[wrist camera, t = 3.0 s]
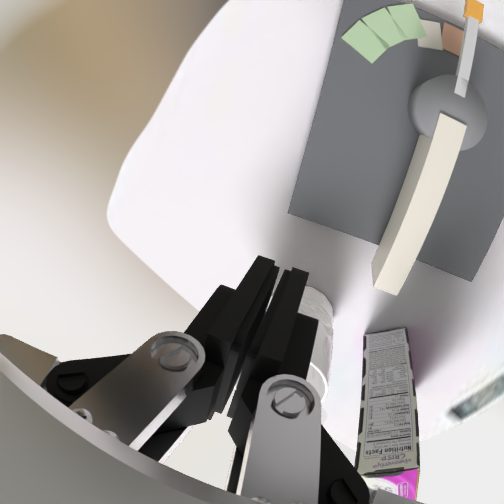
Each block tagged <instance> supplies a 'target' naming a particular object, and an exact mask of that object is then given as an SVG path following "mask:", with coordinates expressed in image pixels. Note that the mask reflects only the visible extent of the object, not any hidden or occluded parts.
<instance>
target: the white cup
mask: <svg viewBox="0 0 504 504" xmlns="http://www.w3.org/2000/svg"><path fill="white" fill-rule="evenodd" d="M272 297H273V295H272V296H271V298H270V301H269V304H270V302H271V300H272ZM269 304H268V306H269ZM267 308H268V307H267ZM266 311H267V310H266ZM298 313H301V314H304V315H307V316H310V317H313V318H316V319H318V320H319V323H318V328H317V333H316V338H315V343H314V347H313V352H312V357H311V361H310V365H309V370H308V374H307V378H306V381H307V382H309V383H310V384H311V385H312V386H313V387H314V388H315V389H316V390H317V392H318V394H319V396H320V400H321V404H322V403H323V402H324V400H325V399H326V397H327V394H328V389H329V379H330V369H331V360H332V349H333V308H332V305H331V304H330V302H329V301H328V299H327V298H326V296H325V295H324V294H322V293H321V292H319V291H317V290H316V289H314V288H313V287H309V286H305V289H304V293H303V296H302V299H301V303H300V306H299V309H298ZM240 375H241V374H240ZM239 378H240V376H239ZM239 378H238V380H237V382H236V384H235V386H234V389H235V390H236V387H237V384H238V381H239Z"/></svg>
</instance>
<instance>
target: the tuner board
mask: <svg viewBox="0 0 504 504" xmlns="http://www.w3.org/2000/svg"><path fill="white" fill-rule="evenodd" d="M463 35H464V29H462V28H460V27H458V26H456V25H454V24H452V23H450V22H448V21H446V20H444V19H441V18H439V17H437V16H435V15H432V14H430V13H427V12H425V11H423V10H420V9H418V8H415V7H414V5H413V4H404V3H401V2H399V1H396V0H344V2H343V6H342V10H341V15H340V19H339V23H338V27H337V31H336V35H335V39H334V43H333V47H332V51H331V55H330V59H329V63H328V67H327V71H326V75H325V78H324V82H323V86H322V90H321V94H320V98H319V101H318V105H317V109H316V113H315V116H314V120H313V124H312V128H311V131H310V135H309V139H308V142H307V146H306V150H305V153H304V157H303V160H302V164H301V168H300V171H299V175H298V178H297V182H296V185H295V189H294V193H293V196H292V200H291V203H290V207H289V210H288V213H289V214H292V215H295V216H298V217H301V218H304V219H307V220H310V221H313V222H316V223H318V224H321V225H324V226H327V227H330V228H333V229H336V230H338V231H341V232H344V233H347V234H350V235H352V236H355V237H358V238H361V239H363V240H366V241H369V242H372V243H374V244H377V245H379V244H380V242H381V240H382V237H383V235H384V232H385V230H386V227H387V225H388V223H389V220H390V218H391V215H392V212H393V210H394V207H395V205H396V202H397V199H398V197H399V194H400V191H401V189H402V186H403V183H404V180H405V178H406V175H407V172H408V169H409V166H410V163H411V160H412V157H413V154H414V151H415V148H416V145H417V142H418V138H419V134H418V132H417V131H416V130H415V129H414V127H413V125H412V123H411V121H410V118H409V113H408V102H409V98H410V95H411V93H412V92H413V90H414V89H415V88H416V87H417V86H418V85H420V84H421V83H423V82H425V81H428V80H430V79H432V78H435V77H437V76H440V75H455V76H456V71H457V66H458V62H459V57H460V52H461V46H462V41H463ZM468 82H470V83H471V84H472V85H473V86H474V87H475V88H476V89H477V90H478V92H479V93H480V95H481V96H482V98H483V100H484V103H485V106H486V110H487V127H486V130H485V133H484V135H483V137H482V139H481V140H480V141H479V142H478V143H477V144H476V145H475V146H473V147H472V148H470V149H467V150H462V151H459V153H458V156H457V159H456V162H455V165H454V168H453V171H452V174H451V177H450V179H449V182H448V185H447V188H446V190H445V193H444V195H443V198H442V200H441V203H440V206H439V208H438V210H437V213H436V215H435V218H434V220H433V222H432V225H431V227H430V229H429V232H428V234H427V236H426V238H425V241H424V243H423V245H422V247H421V249H420V251H419V253H418V256H417V258H416V260H419V261H421V262H424V263H426V264H429V265H431V266H434V267H436V268H439V269H441V270H444V271H446V272H449V273H451V274H454V275H456V276H458V277H461V278H463V279H466V280H468V281H470V282H472V280H473V278H474V276H475V274H476V273H477V271H478V269H479V267H480V265H481V263H482V261H483V259H484V257H485V255H486V253H487V251H488V249H489V247H490V245H491V243H492V241H493V239H494V237H495V234H496V232H497V230H498V228H499V226H500V223H501V221H502V219H503V216H504V52H503V51H502V50H500V49H498V48H497V47H495V46H493V45H492V44H490V43H488V42H487V41H485V40H483V39H481V38H479V37H478V36H477V40H476V46H475V52H474V57H473V62H472V67H471V72H470V77H469V81H468Z"/></svg>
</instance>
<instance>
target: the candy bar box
mask: <svg viewBox="0 0 504 504" xmlns="http://www.w3.org/2000/svg"><path fill="white" fill-rule="evenodd" d="M419 452H420V451H419V426H418V412H417V401H416V391H415V381H414V374H413V366H412V358H411V351H410V345H409V339H408V333H407V328H406V327H403V328H396V329H392V330H388V331H383V332H377V333H371V334H365V335H364V336H363V371H362V392H361V405H360V418H359V428H358V441H357V452H356V458H355V466H354V468H355V469H356V470H357V472H358V473H359V474H360V475H361V477H362V478H363V479H364V481H365V482H366V484H367V486H368V487H369V488H371V489H374V490H375V489H377V488H380V489H383V490H386V491H388V492H391V493H394V494H397V495H399V496H402V497H405V498H408V499H411V500H414V501H416V497H417V489H418V482H419V474H420V473H419V472H420V458H419V457H420V453H419Z"/></svg>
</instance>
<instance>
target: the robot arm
mask: <svg viewBox="0 0 504 504" xmlns="http://www.w3.org/2000/svg"><path fill="white" fill-rule="evenodd" d="M274 264H275V261H274V260H271V259H268V258H265V257H262V256H259V255H258V257H257V258H256V260H255V261H254V263H253V264H252V266H251V267H250V269H249V270H248V272H247V273H246V275H245V277H244V278H243V280H242V281H241V283H240V284H239V286H238V287H237V289H236V290H235V289H232V288H229V287H227V286H224V285H220V286H219V287H218V288H217V289H216V291H215V292H214V293H213V295H212V296H211V297H210V299H209V300H208V301H207V303H206V304H205V305H204V307H203V308H202V309H201V311H200V312H199V313H198V315H197V316H196V317H195V319H194V320H193V321H192V323H191V324H190V325H189V327H188V328H187V330H186V331H185V332H184V333H182V332H176V331H167V332H162V333H158V334H156V335H155V336H153V337H151V338H150V339H149V340H148V341H146V342H145V343H144V344H143V345H142V346H140V347H139V348H138V349H137V350H136V351H135V352H133V353H132V354H126V355H118V356H110V357H101V358H92V359H82V360H71V361H66V362H59V361H58V358H57V357H55V356H53V355H51V354H48V353H46V352H44V351H41V350H39V349H37V348H34V347H32V346H30V345H28V344H26V343H24V342H22V341H20V340H18V339H15V338H13V337H12V336H8V335H5V334H2V335H0V504H424V503H420V502H417V501H414V500H411V499H408V498H405V497H402V496H399V495H397V494H394V493H391V492H388V491H386V490H383V489H380V488H377V489H375V490H374V489H371V488H369V487H368V486H367V484H366V482H365V481H364V479H363V478H362V477H361V475H360V474H359V473H358V472H357V470H356V469H355V468H354V467H353V465H352V464H351V463H350V461H349V460H348V459H347V458H346V456H345V455H344V454H343V452H342V451H341V450H340V448H339V447H338V446H337V445H336V443H335V442H334V441H333V439H332V438H331V437H330V435H329V434H328V433H327V431H326V430H325V429H324V427H323V426H322V425H321V400H320V396H319V394H318V392H317V390H316V389H315V388H314V387H313V386H312V385H311V384H310V383H309V382H307V381H306V378H307V374H308V370H309V365H310V361H311V357H312V352H313V347H314V343H315V338H316V333H317V328H318V323H319V320H318V319H316V318H313V317H310V316H307V315H304V314H301V313H298V309H299V306H300V303H301V299H302V296H303V293H304V289H305V286H306V282H307V279H308V275H309V273H308V272H305V271H302V270H299V269H297V268H294V267H293V268H292V271H289V270H286V269H285V270H284V272H283V275H282V277H281V279H280V282H279V284H278V286H277V288H276V291H275V293H274V295H273V297H272V300H271V302H270V304H269V301H270V298H271V294H272V291H273V288H274V285H275V282H276V279H277V276H278V273H279V269H280V267H277V266H274ZM268 304H269V306H268ZM267 307H268V308H267ZM266 310H267V311H266ZM240 374H241V375H240ZM239 376H240V378H239ZM238 378H239V381H238V384H237V387H236V390H235V393H234V396H233V399H232V402H231V405H230V408H229V411H228V414H227V416H228V417H230V418H233V419H232V421H231V424H230V427H229V429H228V432H229V434H230V435H231V437H232V439H233V441H234V443H235V448H234V451H233V455H232V460H231V464H230V468H229V473H228V477H227V481H226V486H225V490H222V489H219V488H216V487H214V486H211V485H209V484H206V483H204V482H201V481H199V480H197V479H194V478H192V477H189V476H187V475H185V474H183V473H180V472H178V471H176V470H174V469H172V468H170V467H167V466H165V465H163V463H164V462H165V461H166V460H167V458H168V457H169V456H170V455H171V454H172V452H173V451H174V450H175V449H176V448H177V446H178V445H179V444H180V443H181V442H182V440H183V439H184V438H185V437H186V435H187V434H188V433H189V432H190V430H191V428H192V427H193V425H196V424H200V423H203V422H206V421H207V419H209V420H211V418H212V416H213V414H214V412H218V413H220V414H221V413H222V411H223V410H224V407H225V405H226V403H227V401H228V399H229V397H230V395H231V393H232V391H233V389H234V386H235V384H236V382H237V380H238Z"/></svg>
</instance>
